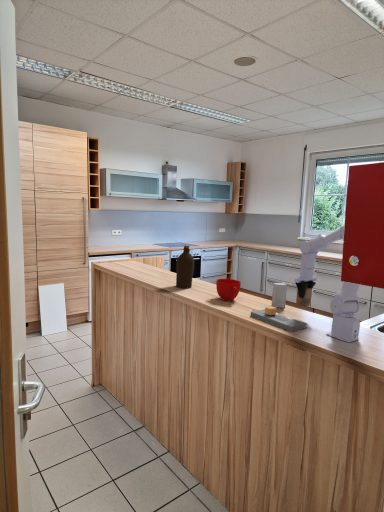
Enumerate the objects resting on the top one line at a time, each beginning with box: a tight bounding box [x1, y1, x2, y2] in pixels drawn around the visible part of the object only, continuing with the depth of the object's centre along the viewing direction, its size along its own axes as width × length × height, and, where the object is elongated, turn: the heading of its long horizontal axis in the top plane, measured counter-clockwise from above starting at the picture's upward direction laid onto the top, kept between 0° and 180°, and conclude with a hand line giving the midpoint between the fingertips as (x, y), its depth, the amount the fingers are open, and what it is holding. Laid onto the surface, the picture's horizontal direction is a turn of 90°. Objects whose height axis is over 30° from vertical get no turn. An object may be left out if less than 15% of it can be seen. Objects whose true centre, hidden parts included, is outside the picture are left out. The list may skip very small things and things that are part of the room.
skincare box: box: [271, 282, 288, 309], centre depth 168 cm, size 6×4×12 cm
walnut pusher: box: [295, 287, 313, 307], centre depth 150 cm, size 5×4×8 cm
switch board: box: [250, 308, 307, 332], centre depth 144 cm, size 22×10×2 cm, turn 37°
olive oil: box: [175, 245, 195, 289], centre depth 198 cm, size 11×11×25 cm
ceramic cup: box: [215, 278, 242, 302], centre depth 174 cm, size 13×17×10 cm
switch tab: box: [264, 305, 278, 315], centre depth 146 cm, size 3×4×3 cm
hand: (303, 297), depth 150 cm, fingers closed on walnut pusher, 3 cm apart
